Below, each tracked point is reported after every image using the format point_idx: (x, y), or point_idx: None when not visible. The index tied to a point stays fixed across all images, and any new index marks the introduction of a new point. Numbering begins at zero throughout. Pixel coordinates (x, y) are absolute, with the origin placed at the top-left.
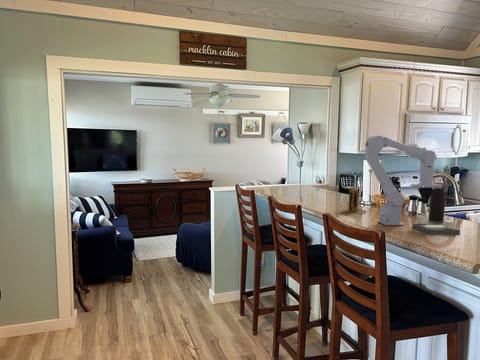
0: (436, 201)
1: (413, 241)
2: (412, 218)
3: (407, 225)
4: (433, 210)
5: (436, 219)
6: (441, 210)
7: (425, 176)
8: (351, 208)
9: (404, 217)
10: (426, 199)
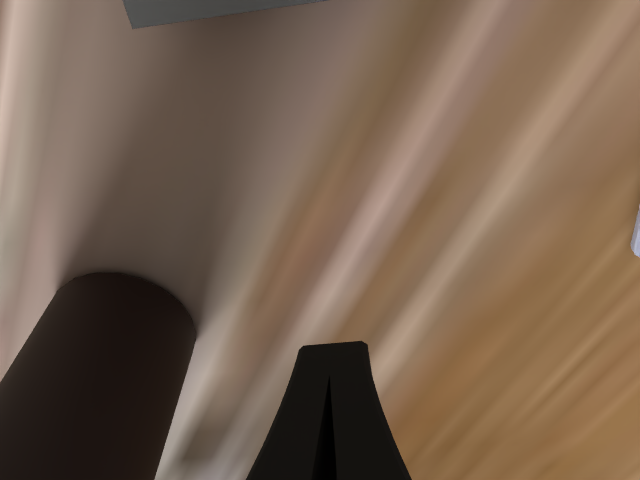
0: None
1: None
2: None
3: (618, 63)
4: (131, 397)
5: (128, 295)
6: (28, 380)
7: None
8: None
9: (392, 418)
10: (342, 421)
